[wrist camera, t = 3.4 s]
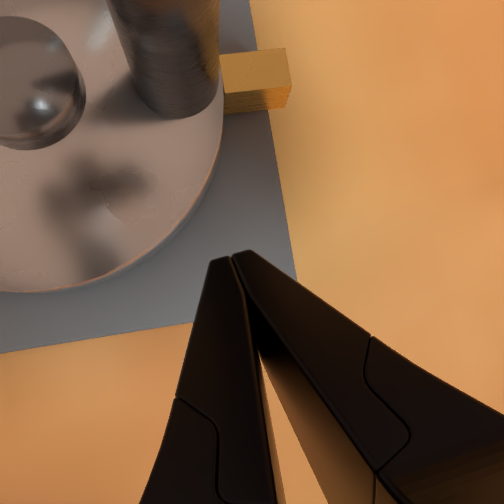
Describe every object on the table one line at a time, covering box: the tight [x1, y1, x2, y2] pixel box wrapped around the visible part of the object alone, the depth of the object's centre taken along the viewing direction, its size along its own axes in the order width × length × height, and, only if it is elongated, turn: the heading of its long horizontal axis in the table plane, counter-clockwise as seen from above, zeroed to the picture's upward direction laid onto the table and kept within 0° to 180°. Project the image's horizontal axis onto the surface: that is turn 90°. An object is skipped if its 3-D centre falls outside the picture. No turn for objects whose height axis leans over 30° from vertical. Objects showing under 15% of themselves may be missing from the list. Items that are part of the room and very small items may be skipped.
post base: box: [0, 0, 297, 353], centre depth 14 cm, size 14×14×6 cm
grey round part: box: [0, 0, 292, 294], centre depth 9 cm, size 11×13×10 cm
